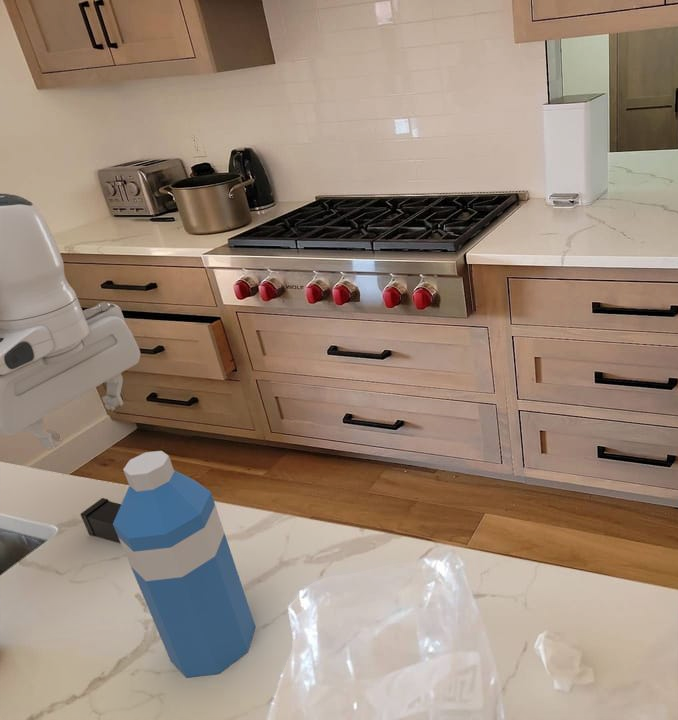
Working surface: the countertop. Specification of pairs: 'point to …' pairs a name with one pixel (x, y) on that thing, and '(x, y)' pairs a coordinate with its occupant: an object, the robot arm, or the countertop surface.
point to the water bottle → (183, 566)
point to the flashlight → (101, 519)
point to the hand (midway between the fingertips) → (85, 425)
